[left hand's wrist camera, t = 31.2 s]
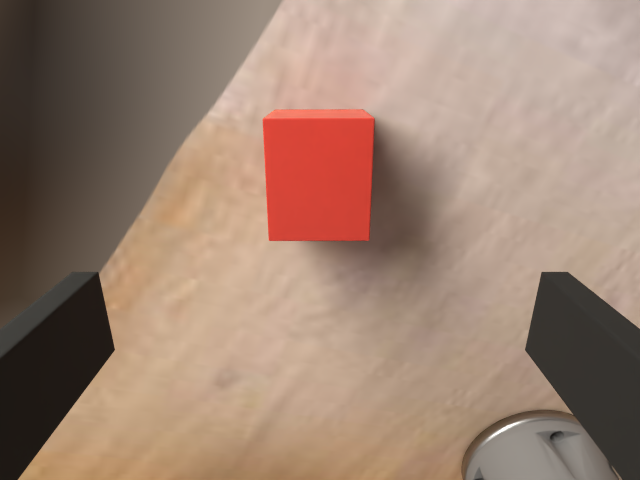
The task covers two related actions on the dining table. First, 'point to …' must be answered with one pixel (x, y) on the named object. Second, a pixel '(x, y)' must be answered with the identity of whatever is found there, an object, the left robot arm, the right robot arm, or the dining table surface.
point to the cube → (318, 174)
